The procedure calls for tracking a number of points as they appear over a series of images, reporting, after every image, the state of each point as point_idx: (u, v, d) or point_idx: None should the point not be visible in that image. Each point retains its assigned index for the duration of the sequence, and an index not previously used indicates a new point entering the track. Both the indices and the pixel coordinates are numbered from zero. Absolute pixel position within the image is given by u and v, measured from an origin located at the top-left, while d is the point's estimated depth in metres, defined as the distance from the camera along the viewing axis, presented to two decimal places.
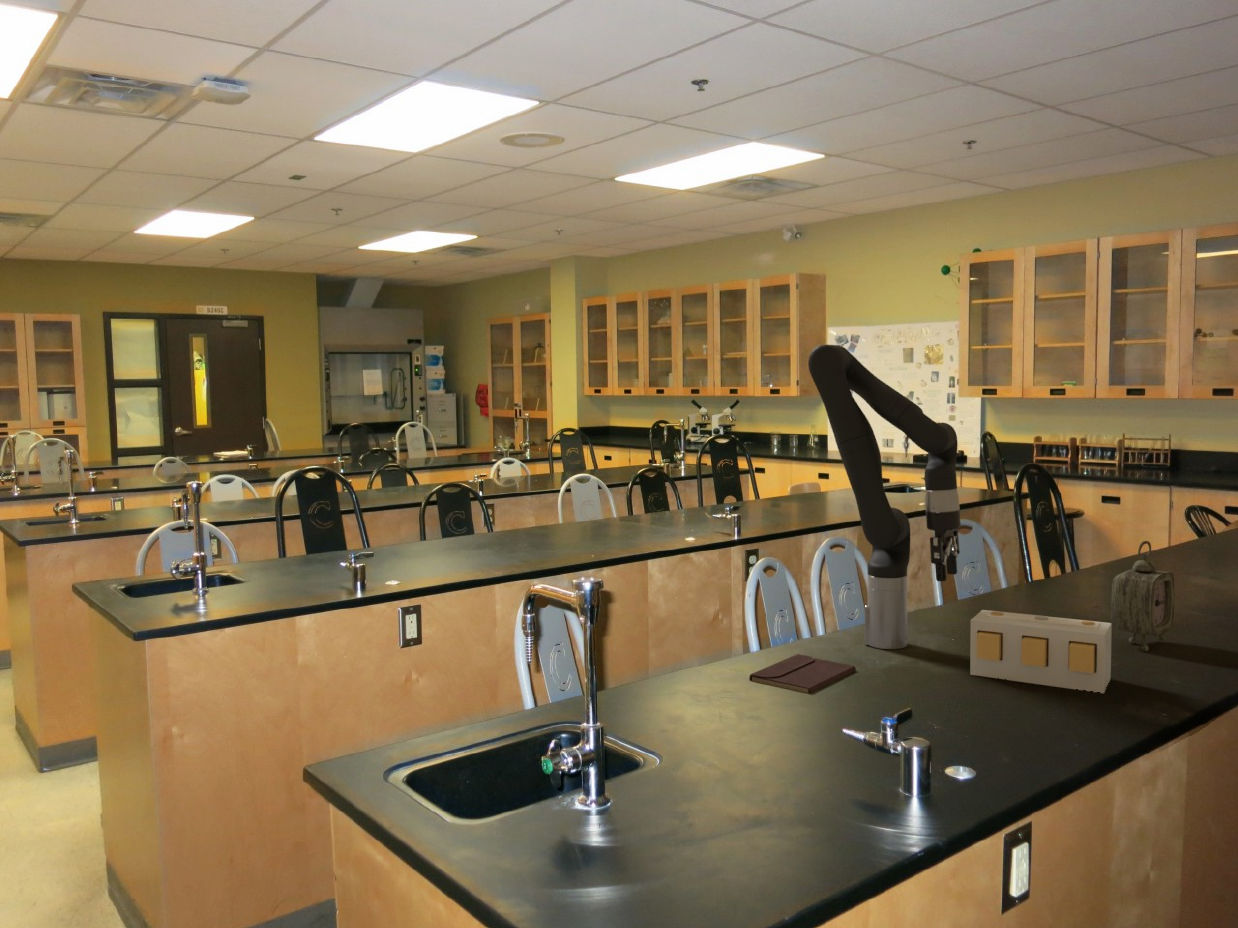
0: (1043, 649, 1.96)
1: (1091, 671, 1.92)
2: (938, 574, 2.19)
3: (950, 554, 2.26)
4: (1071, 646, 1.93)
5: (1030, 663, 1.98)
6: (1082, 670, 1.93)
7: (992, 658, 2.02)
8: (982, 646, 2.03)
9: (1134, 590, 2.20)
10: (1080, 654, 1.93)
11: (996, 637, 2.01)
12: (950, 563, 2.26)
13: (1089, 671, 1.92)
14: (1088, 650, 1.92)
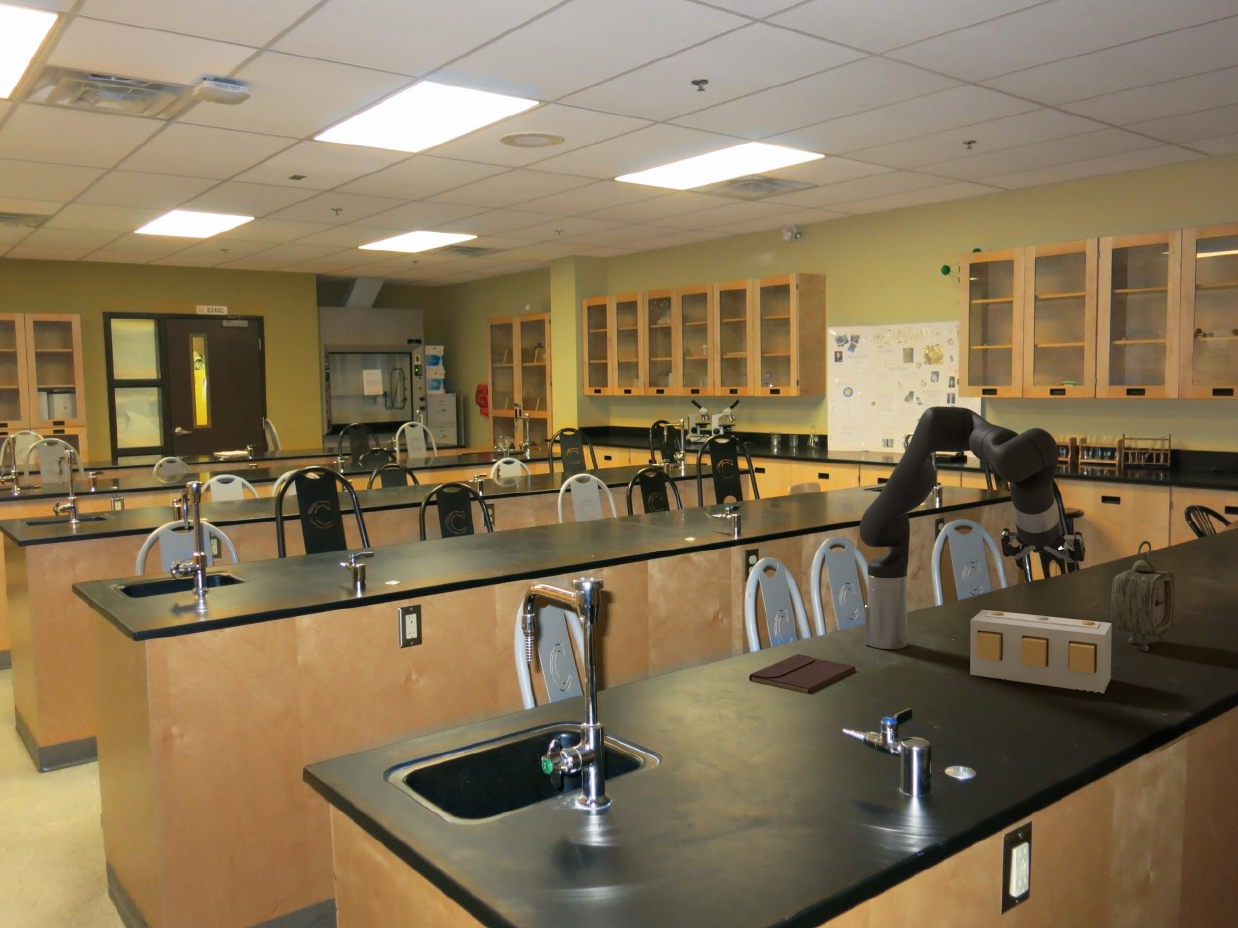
0: (1043, 649, 1.96)
1: (1091, 671, 1.92)
2: None
3: (1068, 554, 1.79)
4: (1071, 646, 1.93)
5: (1030, 663, 1.98)
6: (1082, 670, 1.93)
7: (992, 658, 2.02)
8: (982, 646, 2.03)
9: (1134, 590, 2.20)
10: (1080, 654, 1.93)
11: (996, 637, 2.01)
12: None
13: (1089, 671, 1.92)
14: (1088, 650, 1.92)
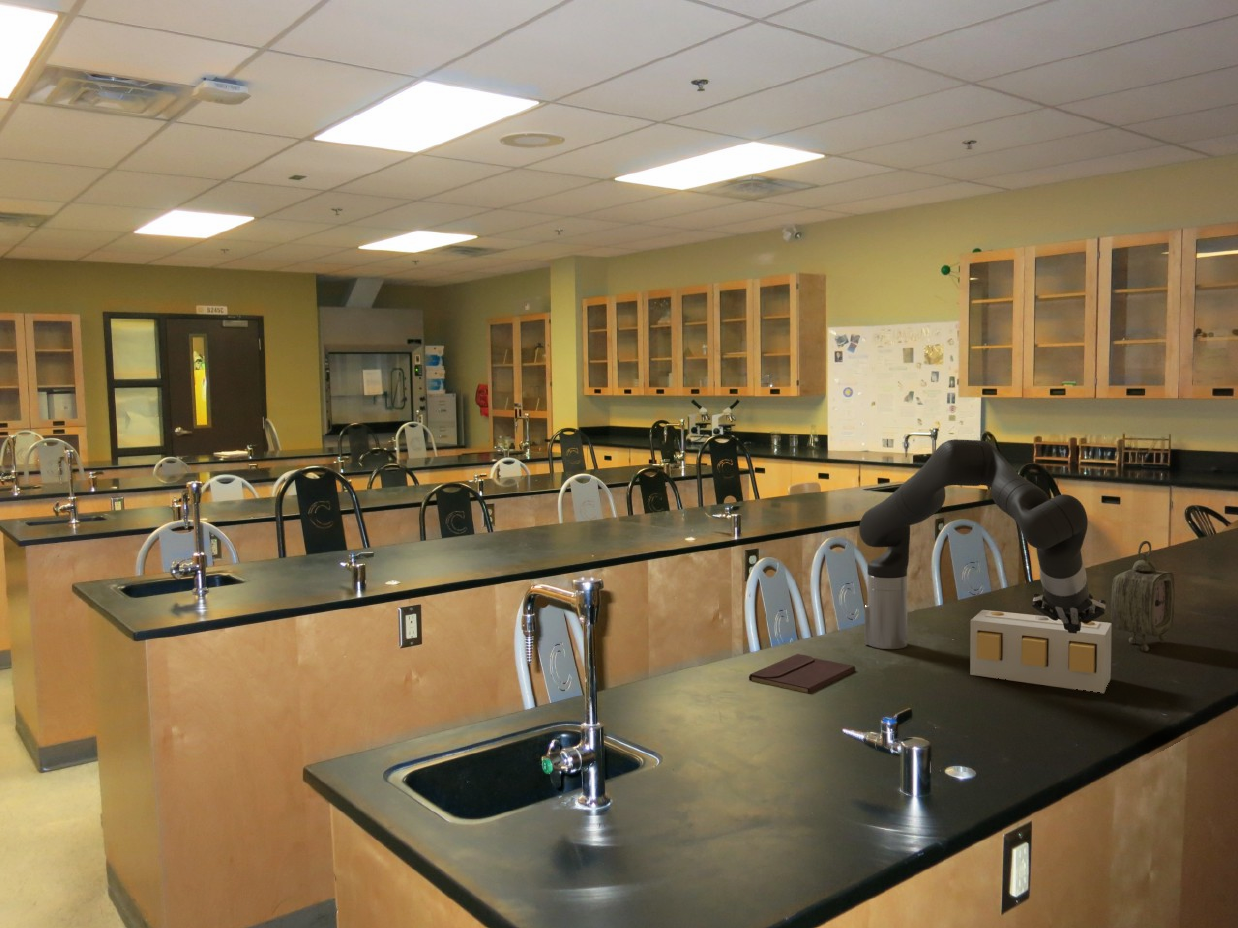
0: (1043, 649, 1.96)
1: (1091, 671, 1.92)
2: None
3: None
4: (1071, 646, 1.93)
5: (1030, 663, 1.98)
6: (1082, 670, 1.93)
7: (992, 658, 2.02)
8: (982, 646, 2.03)
9: (1134, 590, 2.20)
10: (1080, 654, 1.93)
11: (996, 637, 2.01)
12: None
13: (1089, 671, 1.92)
14: (1088, 650, 1.92)
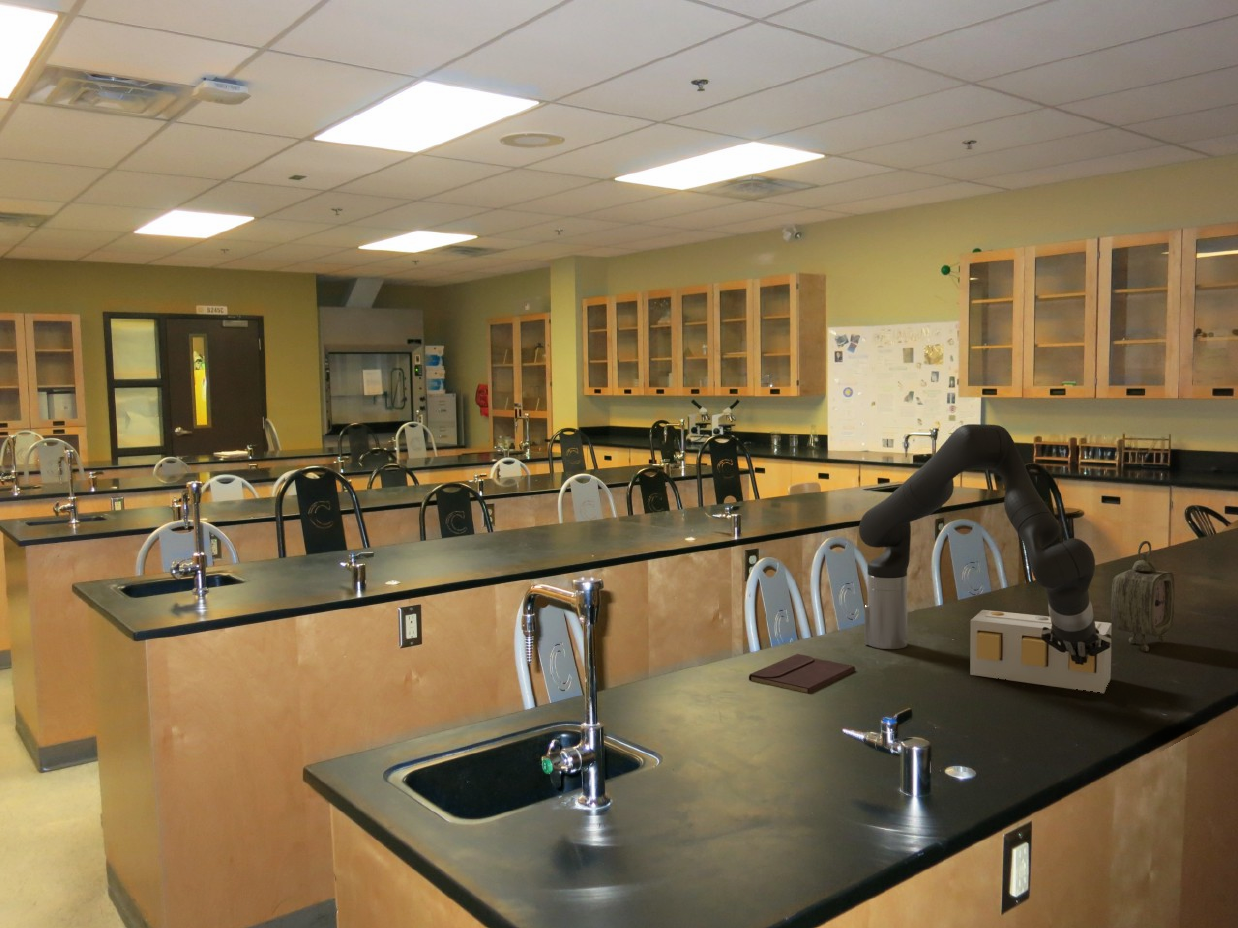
0: (1043, 649, 1.96)
1: (1091, 671, 1.92)
2: None
3: None
4: None
5: (1030, 663, 1.98)
6: (1082, 670, 1.93)
7: (992, 658, 2.02)
8: (982, 646, 2.03)
9: (1134, 590, 2.20)
10: None
11: (996, 637, 2.01)
12: None
13: (1090, 671, 1.92)
14: None
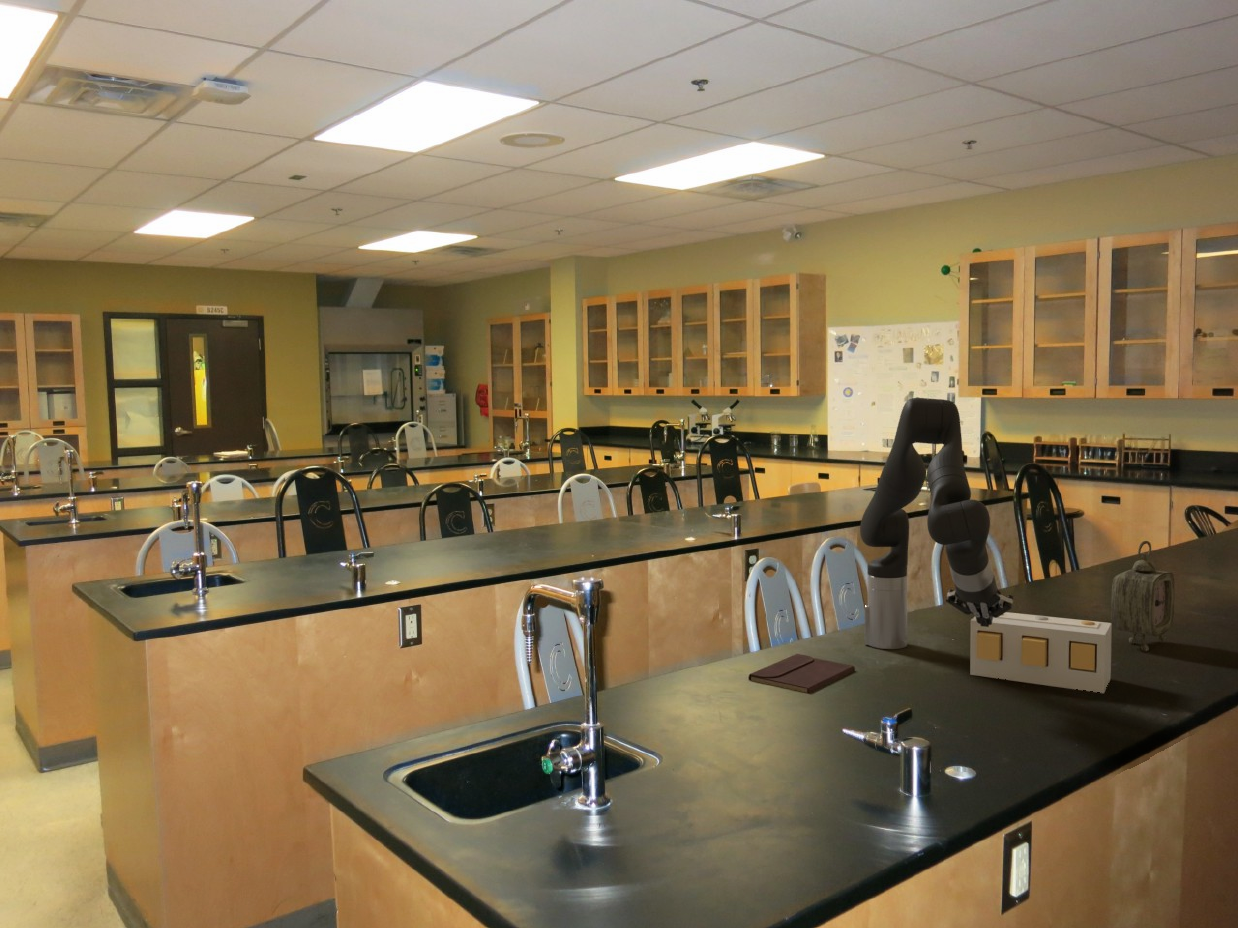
0: (1043, 649, 1.96)
1: (1092, 668, 1.93)
2: None
3: None
4: (1073, 644, 1.95)
5: (1030, 663, 1.98)
6: (1083, 667, 1.94)
7: (992, 658, 2.02)
8: (982, 646, 2.03)
9: (1134, 590, 2.20)
10: (1081, 652, 1.94)
11: (996, 637, 2.01)
12: None
13: (1091, 669, 1.94)
14: (1089, 647, 1.94)
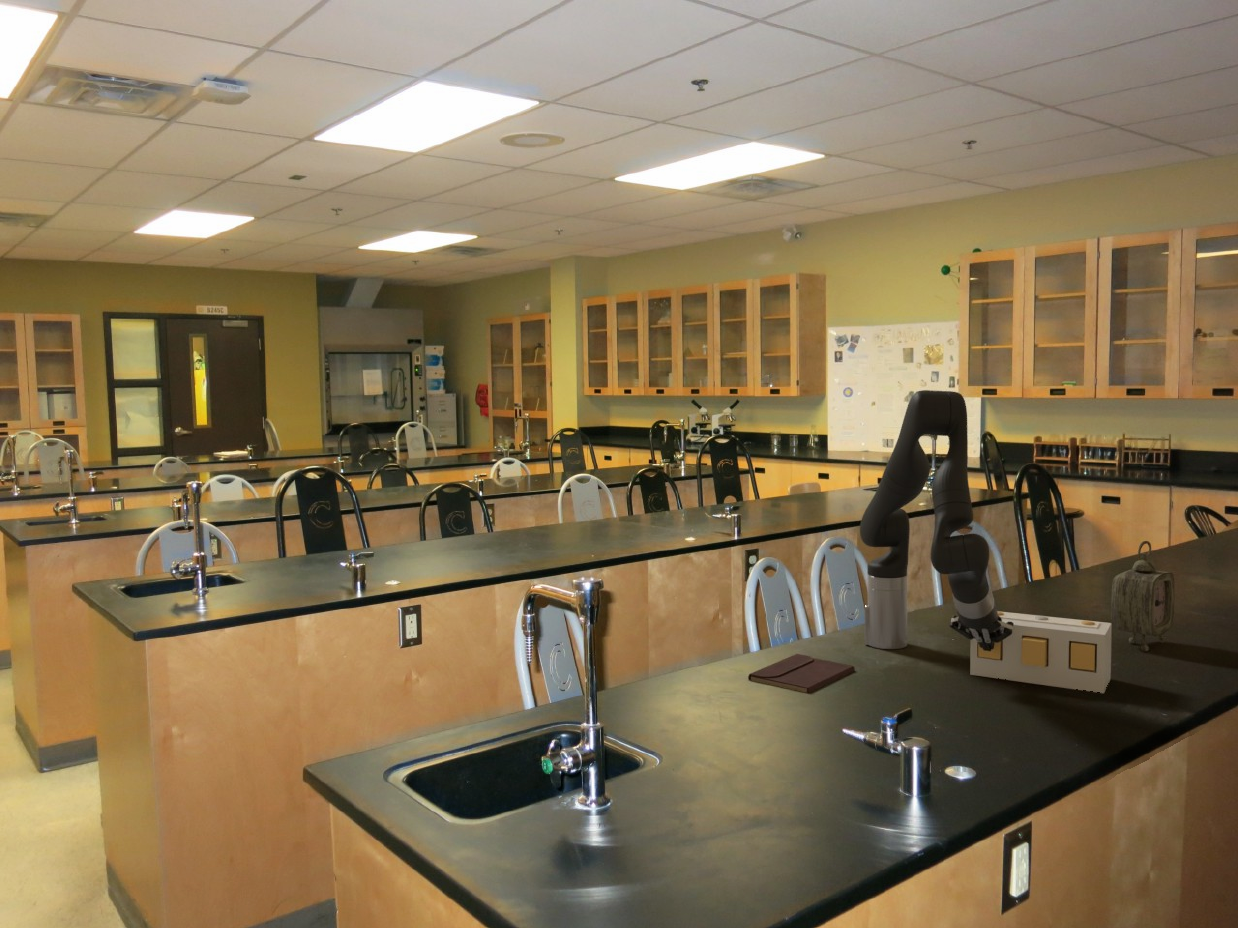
0: (1043, 649, 1.96)
1: (1092, 668, 1.93)
2: None
3: None
4: (1073, 644, 1.95)
5: (1030, 663, 1.98)
6: (1083, 667, 1.94)
7: (993, 657, 2.03)
8: None
9: (1134, 590, 2.20)
10: (1081, 652, 1.94)
11: None
12: None
13: (1091, 669, 1.94)
14: (1089, 647, 1.94)
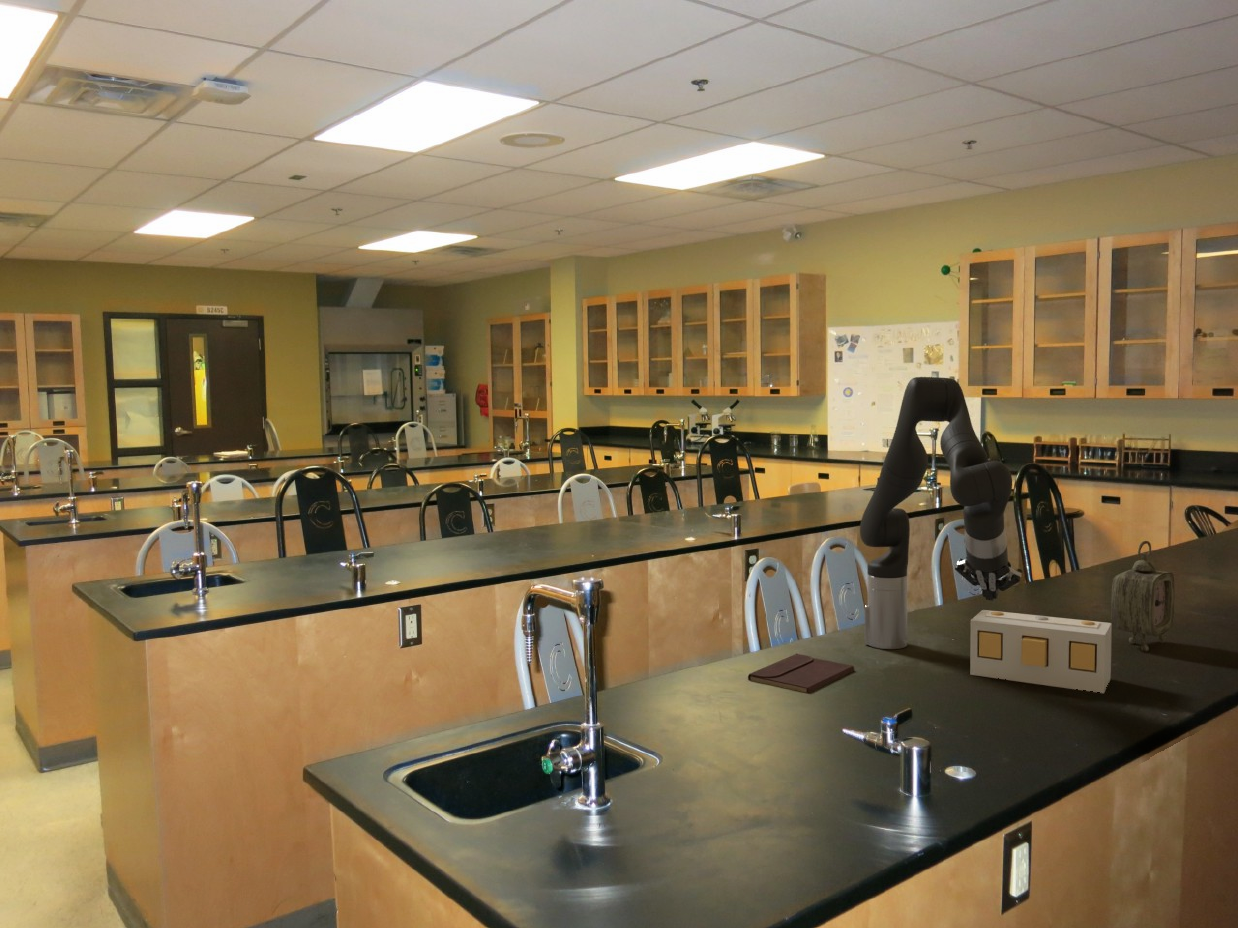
0: (1043, 649, 1.96)
1: (1092, 668, 1.93)
2: None
3: None
4: (1073, 644, 1.95)
5: (1030, 663, 1.98)
6: (1083, 667, 1.94)
7: (994, 656, 2.04)
8: (984, 644, 2.05)
9: (1134, 590, 2.20)
10: (1081, 652, 1.94)
11: (998, 635, 2.03)
12: None
13: (1091, 669, 1.94)
14: (1089, 647, 1.94)
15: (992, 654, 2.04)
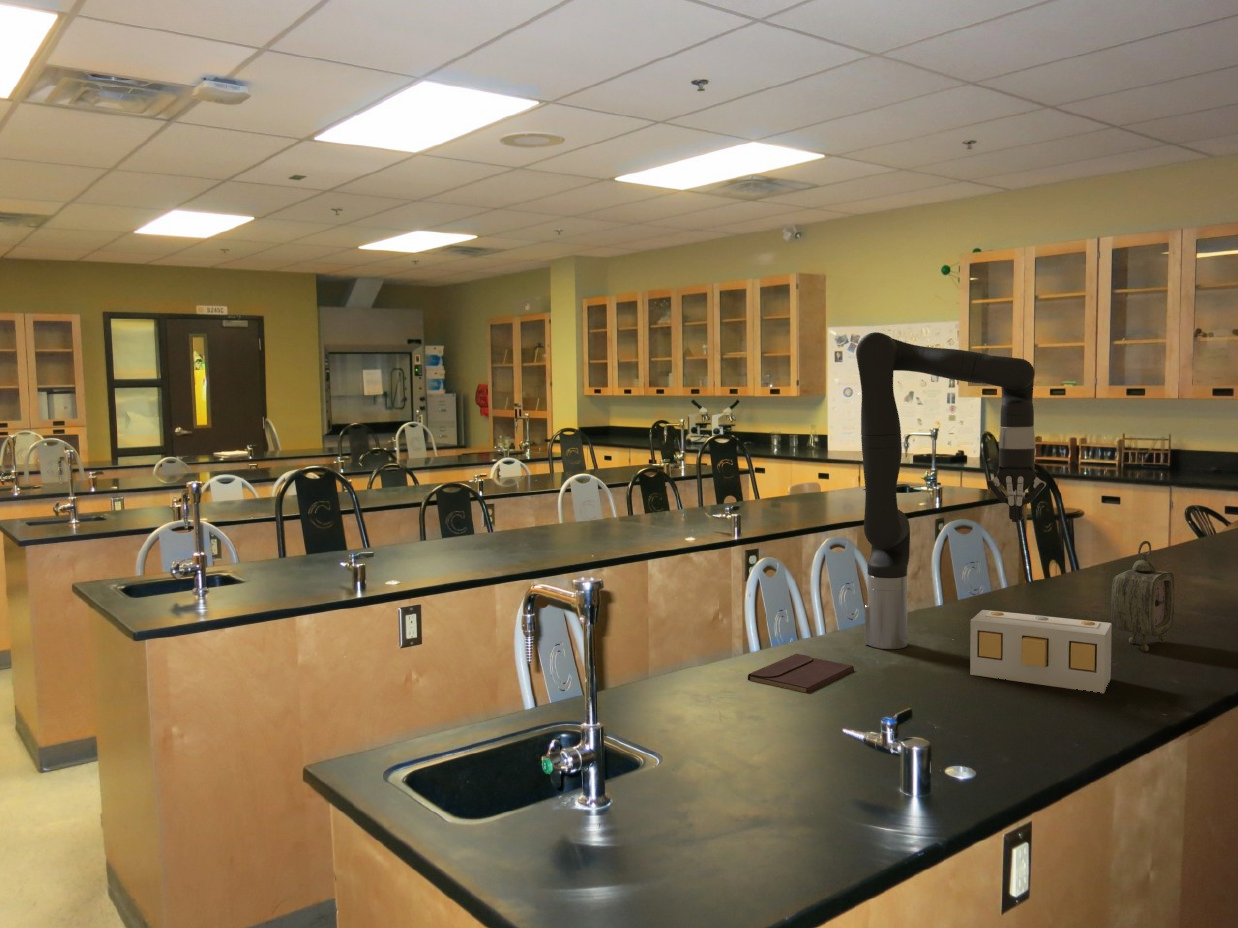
0: (1043, 649, 1.96)
1: (1092, 668, 1.93)
2: None
3: None
4: (1073, 644, 1.95)
5: (1030, 663, 1.98)
6: (1083, 667, 1.94)
7: (994, 656, 2.04)
8: (984, 644, 2.05)
9: (1134, 590, 2.20)
10: (1081, 652, 1.94)
11: (998, 635, 2.03)
12: None
13: (1091, 669, 1.94)
14: (1089, 647, 1.94)
15: (992, 654, 2.04)
